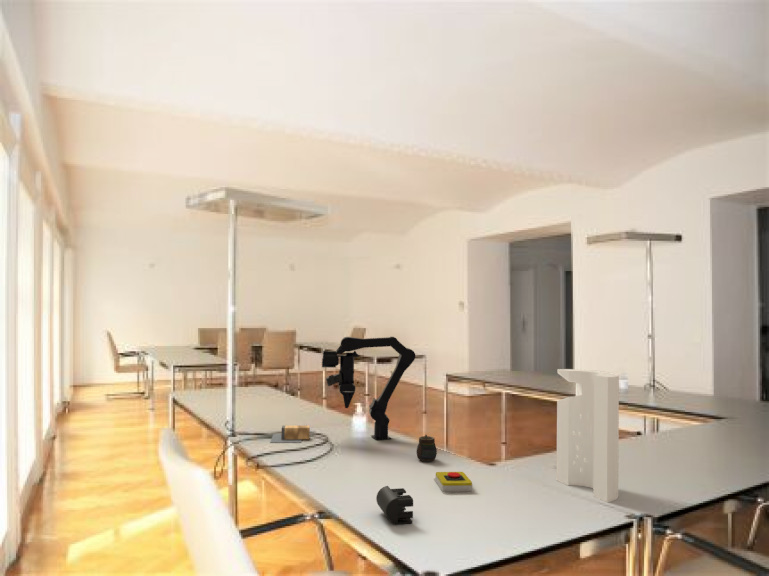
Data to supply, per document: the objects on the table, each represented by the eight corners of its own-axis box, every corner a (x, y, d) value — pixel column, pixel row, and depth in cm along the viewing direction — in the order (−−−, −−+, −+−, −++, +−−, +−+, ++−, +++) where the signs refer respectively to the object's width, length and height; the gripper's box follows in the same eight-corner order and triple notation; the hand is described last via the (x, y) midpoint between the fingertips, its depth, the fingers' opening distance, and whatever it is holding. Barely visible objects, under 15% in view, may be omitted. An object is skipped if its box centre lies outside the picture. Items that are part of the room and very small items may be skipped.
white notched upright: (604, 502, 157) (554, 480, 176) (634, 497, 161) (582, 477, 180) (605, 377, 158) (555, 369, 177) (635, 376, 162) (583, 368, 182)
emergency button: (443, 480, 161) (433, 465, 176) (443, 496, 161) (433, 480, 176) (474, 480, 162) (462, 465, 177) (474, 495, 162) (461, 479, 177)
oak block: (309, 425, 228) (282, 425, 227) (309, 427, 224) (281, 427, 223) (309, 436, 228) (282, 436, 227) (309, 439, 224) (281, 439, 222)
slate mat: (302, 434, 232) (302, 434, 232) (301, 442, 219) (301, 442, 219) (273, 434, 231) (273, 434, 231) (270, 442, 217) (270, 442, 217)
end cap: (375, 512, 146) (376, 486, 146) (401, 510, 148) (402, 484, 148) (385, 527, 136) (386, 499, 136) (413, 524, 138) (413, 497, 138)
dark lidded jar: (435, 457, 200) (436, 429, 201) (438, 463, 193) (438, 434, 193) (415, 457, 200) (416, 429, 201) (417, 463, 193) (418, 434, 193)
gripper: (327, 365, 237) (326, 402, 236) (327, 370, 218) (326, 410, 218) (353, 365, 238) (352, 402, 237) (355, 370, 219) (354, 410, 219)
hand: (346, 406), depth 228 cm, fingers open, 9 cm apart
